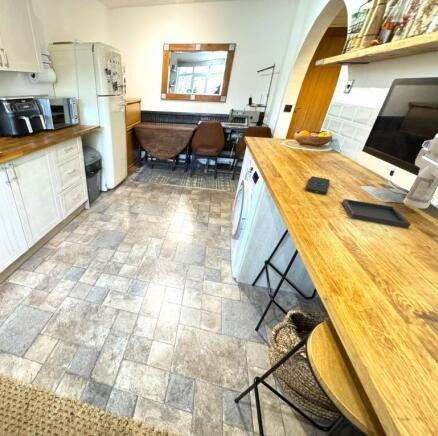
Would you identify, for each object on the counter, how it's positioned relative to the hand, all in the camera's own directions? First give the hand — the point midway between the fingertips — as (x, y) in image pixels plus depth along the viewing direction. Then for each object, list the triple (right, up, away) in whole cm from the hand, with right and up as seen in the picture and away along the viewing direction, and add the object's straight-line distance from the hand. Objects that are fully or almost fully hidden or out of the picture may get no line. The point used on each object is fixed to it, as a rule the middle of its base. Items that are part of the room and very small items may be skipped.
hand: (425, 184), depth 90 cm
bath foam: (+1, -8, +4) cm, 9 cm away
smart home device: (-21, +3, +27) cm, 35 cm away
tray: (-17, -11, +3) cm, 21 cm away
